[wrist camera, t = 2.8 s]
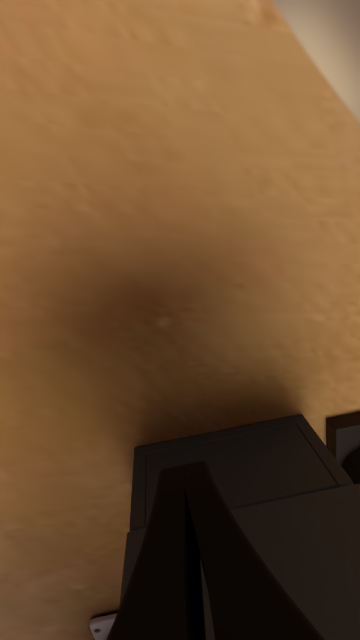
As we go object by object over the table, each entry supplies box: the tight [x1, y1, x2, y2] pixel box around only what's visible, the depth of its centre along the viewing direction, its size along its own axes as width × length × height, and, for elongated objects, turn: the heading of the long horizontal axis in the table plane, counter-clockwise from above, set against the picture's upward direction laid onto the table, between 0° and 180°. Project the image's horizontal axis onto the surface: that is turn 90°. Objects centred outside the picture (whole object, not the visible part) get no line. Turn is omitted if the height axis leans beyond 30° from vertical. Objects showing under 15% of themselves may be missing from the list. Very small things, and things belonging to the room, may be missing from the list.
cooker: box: [130, 414, 353, 531], centre depth 21 cm, size 13×12×6 cm
